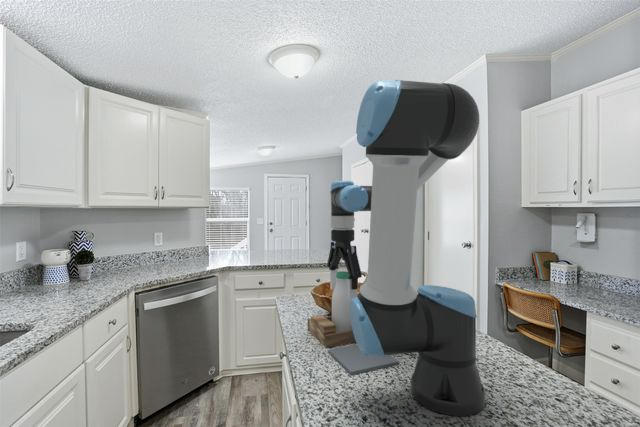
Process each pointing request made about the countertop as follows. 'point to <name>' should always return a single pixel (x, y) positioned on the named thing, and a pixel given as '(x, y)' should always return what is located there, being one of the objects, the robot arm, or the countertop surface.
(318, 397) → the countertop surface
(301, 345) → the countertop surface
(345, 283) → the milk bottle
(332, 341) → the frame
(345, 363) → the rubber mat
